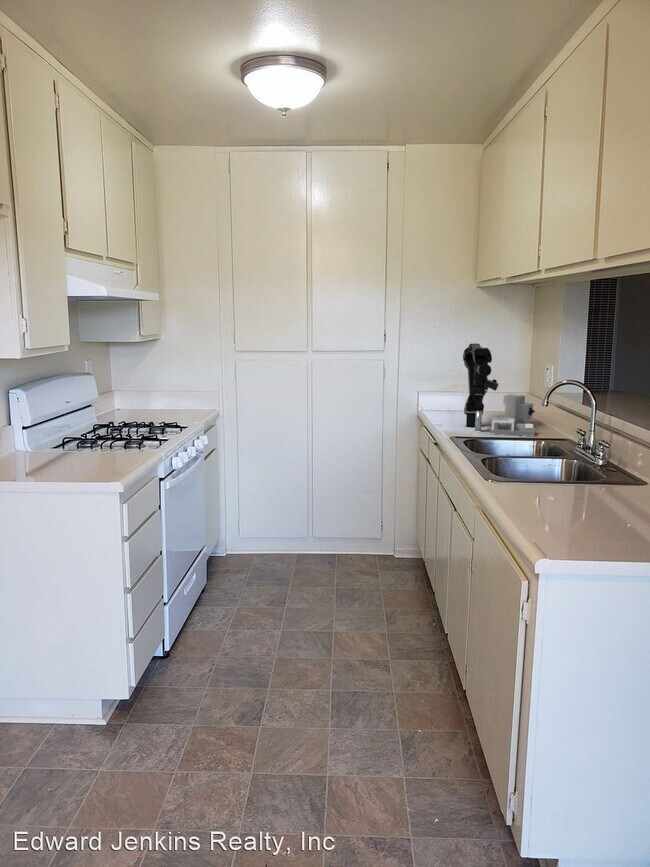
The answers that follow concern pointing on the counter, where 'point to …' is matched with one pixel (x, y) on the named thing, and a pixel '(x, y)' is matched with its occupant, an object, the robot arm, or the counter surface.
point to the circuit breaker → (517, 409)
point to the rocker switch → (528, 425)
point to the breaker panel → (510, 430)
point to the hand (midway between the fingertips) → (479, 406)
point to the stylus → (478, 420)
